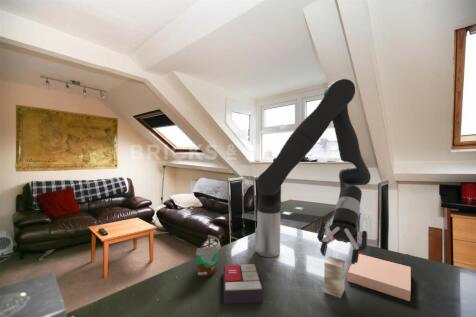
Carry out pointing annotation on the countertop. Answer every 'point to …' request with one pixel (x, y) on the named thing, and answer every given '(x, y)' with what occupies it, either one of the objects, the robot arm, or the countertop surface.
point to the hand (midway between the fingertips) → (337, 258)
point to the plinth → (381, 276)
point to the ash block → (334, 276)
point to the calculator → (242, 284)
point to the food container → (208, 257)
